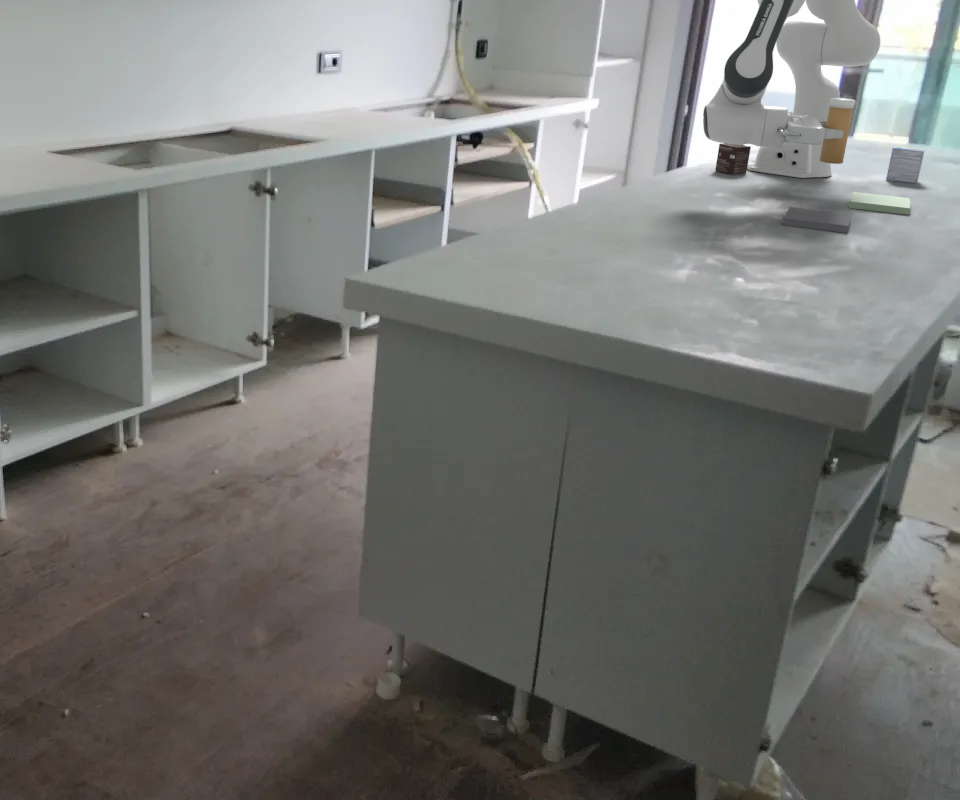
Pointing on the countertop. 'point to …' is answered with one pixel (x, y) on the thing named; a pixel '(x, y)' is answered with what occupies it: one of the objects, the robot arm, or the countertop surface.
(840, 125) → the pill bottle
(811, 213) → the tile
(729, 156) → the box
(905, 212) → the tile
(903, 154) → the medicine box
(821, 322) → the countertop surface
